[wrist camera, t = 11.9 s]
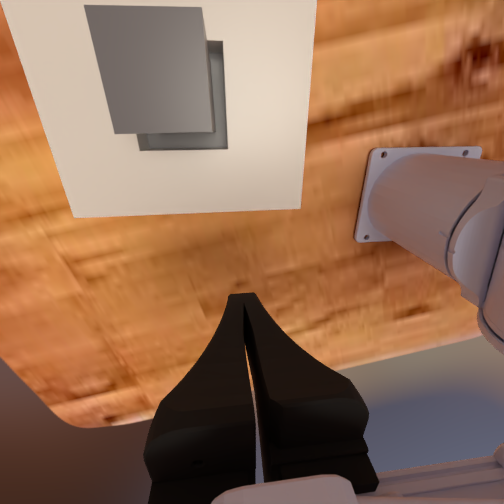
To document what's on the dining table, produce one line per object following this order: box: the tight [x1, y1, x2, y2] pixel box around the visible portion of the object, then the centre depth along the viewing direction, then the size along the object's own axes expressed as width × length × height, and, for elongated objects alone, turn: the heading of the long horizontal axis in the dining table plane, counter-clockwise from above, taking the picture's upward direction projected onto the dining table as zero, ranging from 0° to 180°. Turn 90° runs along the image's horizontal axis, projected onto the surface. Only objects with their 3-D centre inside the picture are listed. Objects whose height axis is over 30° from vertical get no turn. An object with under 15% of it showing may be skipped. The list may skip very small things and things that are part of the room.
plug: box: [84, 5, 216, 134], centre depth 13 cm, size 4×4×8 cm
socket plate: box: [0, 0, 317, 218], centre depth 16 cm, size 16×14×2 cm
